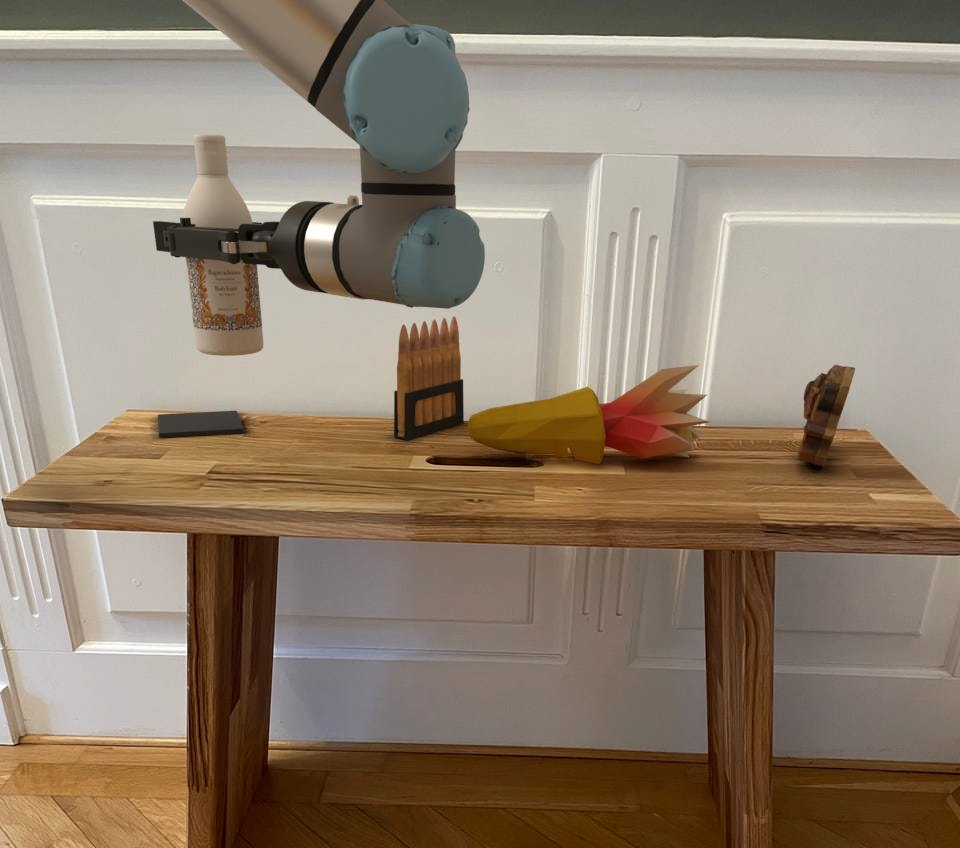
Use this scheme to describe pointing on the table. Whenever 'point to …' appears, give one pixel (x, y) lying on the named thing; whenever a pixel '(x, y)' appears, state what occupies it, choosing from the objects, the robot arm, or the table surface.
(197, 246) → the robot arm
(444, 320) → the ammunition clip
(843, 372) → the wooden carving
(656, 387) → the torch
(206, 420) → the mat
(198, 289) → the bath foam
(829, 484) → the table surface
